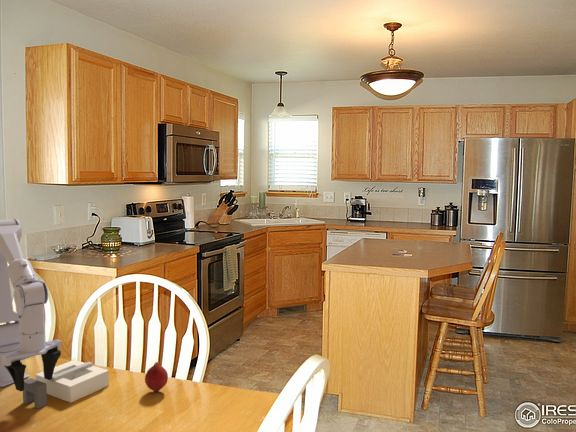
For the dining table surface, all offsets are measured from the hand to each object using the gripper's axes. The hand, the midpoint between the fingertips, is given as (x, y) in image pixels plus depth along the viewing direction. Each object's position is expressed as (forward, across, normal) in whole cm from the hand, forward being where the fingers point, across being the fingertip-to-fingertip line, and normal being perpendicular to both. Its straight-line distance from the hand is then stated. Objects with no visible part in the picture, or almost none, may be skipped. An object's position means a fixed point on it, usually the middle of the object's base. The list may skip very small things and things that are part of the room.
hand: (34, 384), depth 131 cm
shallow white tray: (+5, +11, 0) cm, 12 cm away
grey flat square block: (+5, 0, 0) cm, 5 cm away
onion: (+5, +21, -20) cm, 30 cm away
